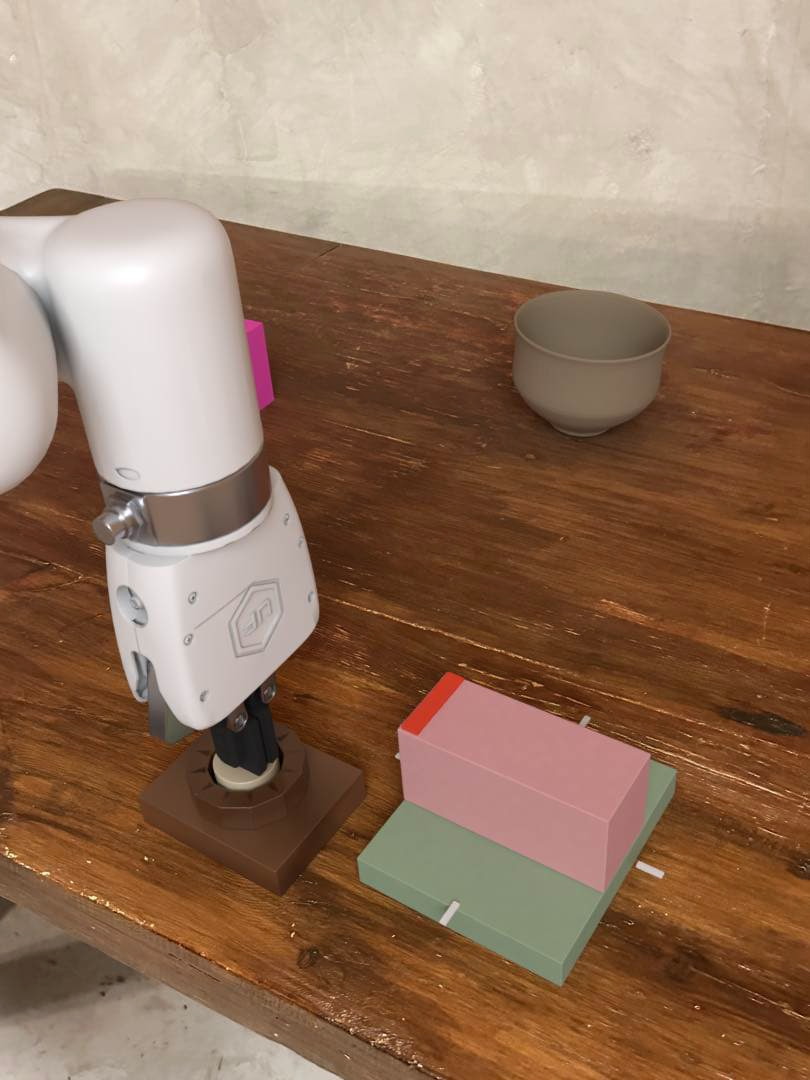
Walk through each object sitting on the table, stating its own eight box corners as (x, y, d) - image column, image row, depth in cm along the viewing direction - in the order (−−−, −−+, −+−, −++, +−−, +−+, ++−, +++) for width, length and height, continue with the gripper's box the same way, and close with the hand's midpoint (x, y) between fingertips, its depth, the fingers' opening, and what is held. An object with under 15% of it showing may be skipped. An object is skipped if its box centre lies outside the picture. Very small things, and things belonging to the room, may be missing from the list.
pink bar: (644, 824, 59) (651, 749, 56) (603, 894, 56) (608, 818, 53) (450, 741, 65) (446, 668, 62) (403, 799, 62) (396, 726, 58)
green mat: (590, 1027, 53) (592, 1001, 51) (315, 879, 60) (311, 854, 59) (717, 795, 63) (721, 768, 62) (469, 694, 71) (469, 669, 70)
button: (253, 814, 61) (249, 793, 60) (204, 788, 63) (198, 767, 62) (294, 770, 63) (290, 749, 62) (245, 747, 65) (241, 725, 64)
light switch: (280, 898, 60) (270, 850, 57) (144, 821, 64) (129, 774, 62) (367, 796, 65) (361, 748, 62) (234, 732, 70) (224, 686, 67)
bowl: (661, 469, 90) (671, 357, 84) (503, 460, 92) (502, 350, 86) (664, 392, 100) (673, 286, 94) (521, 385, 102) (521, 282, 96)
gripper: (130, 599, 45) (210, 885, 55) (349, 424, 54) (380, 697, 65) (4, 545, 48) (102, 824, 59) (231, 390, 58) (279, 654, 69)
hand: (248, 757), depth 62 cm, fingers closed
